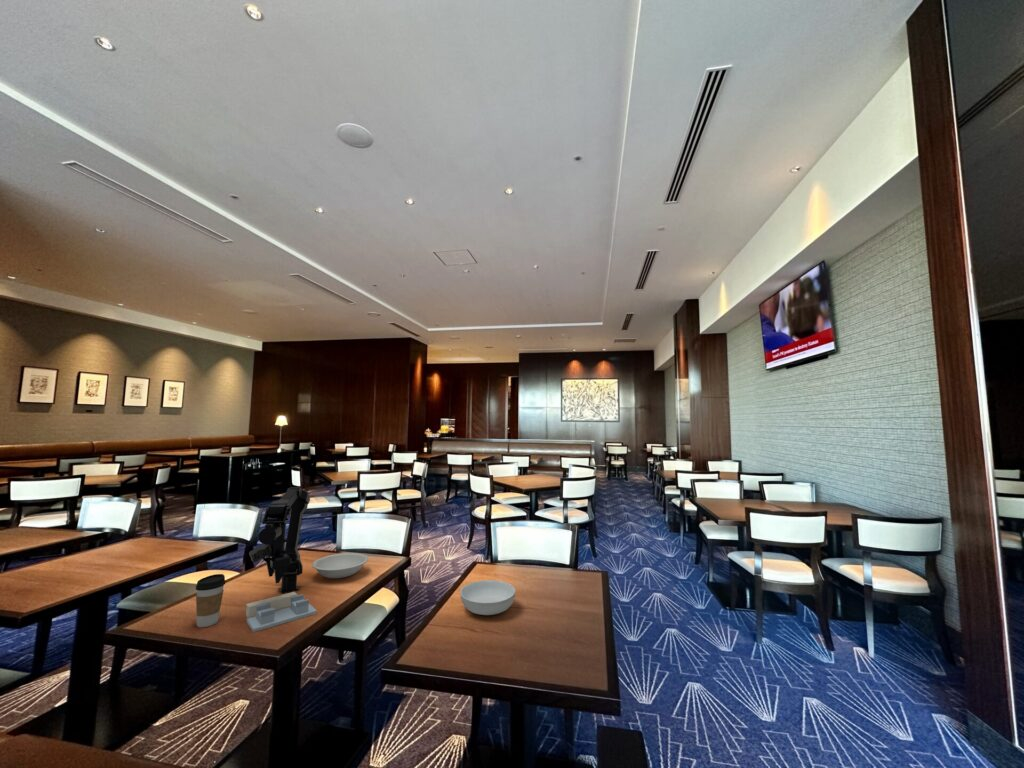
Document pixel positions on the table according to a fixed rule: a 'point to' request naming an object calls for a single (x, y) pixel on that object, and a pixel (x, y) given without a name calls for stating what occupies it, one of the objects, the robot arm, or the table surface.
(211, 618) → the coffee cup
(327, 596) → the table surface
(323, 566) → the soup bowl
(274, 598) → the strip
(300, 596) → the rack
